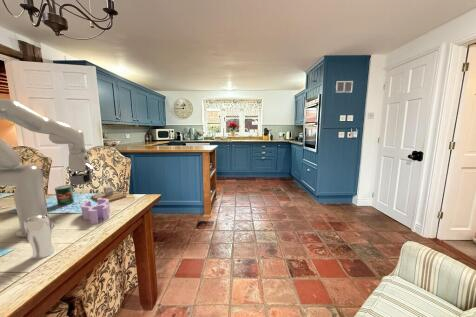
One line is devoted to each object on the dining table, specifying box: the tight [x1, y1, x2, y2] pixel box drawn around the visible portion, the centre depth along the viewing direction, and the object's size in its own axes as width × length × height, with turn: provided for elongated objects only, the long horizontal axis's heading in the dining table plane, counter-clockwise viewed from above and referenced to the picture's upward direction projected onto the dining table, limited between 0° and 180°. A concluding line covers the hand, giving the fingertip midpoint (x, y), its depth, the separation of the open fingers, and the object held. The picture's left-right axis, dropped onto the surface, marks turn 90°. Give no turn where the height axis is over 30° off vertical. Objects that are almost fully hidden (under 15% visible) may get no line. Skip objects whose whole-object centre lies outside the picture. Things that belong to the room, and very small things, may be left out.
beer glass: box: [24, 214, 55, 260], centre depth 76 cm, size 7×7×15 cm
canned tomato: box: [54, 184, 75, 207], centre depth 126 cm, size 8×8×11 cm
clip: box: [80, 198, 111, 225], centre depth 109 cm, size 20×12×7 cm, turn 43°
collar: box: [69, 173, 93, 186], centre depth 120 cm, size 7×7×5 cm
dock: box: [91, 185, 127, 203], centre depth 135 cm, size 18×14×8 cm
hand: (81, 180), depth 120 cm, fingers closed on collar, 7 cm apart
